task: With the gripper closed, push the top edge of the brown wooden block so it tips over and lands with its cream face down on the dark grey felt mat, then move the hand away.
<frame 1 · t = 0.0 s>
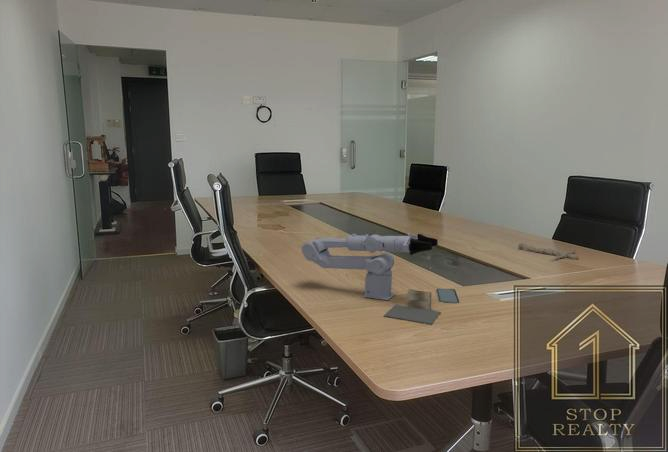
hand: (434, 244, 173), 22 cm above the table, tool horizontal, fingers open, 7 cm apart
smartphone: (447, 298, 186), on the table
brown wooden block: (418, 308, 173), on the table
mat: (412, 314, 166), on the table
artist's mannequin: (547, 255, 254), on the table
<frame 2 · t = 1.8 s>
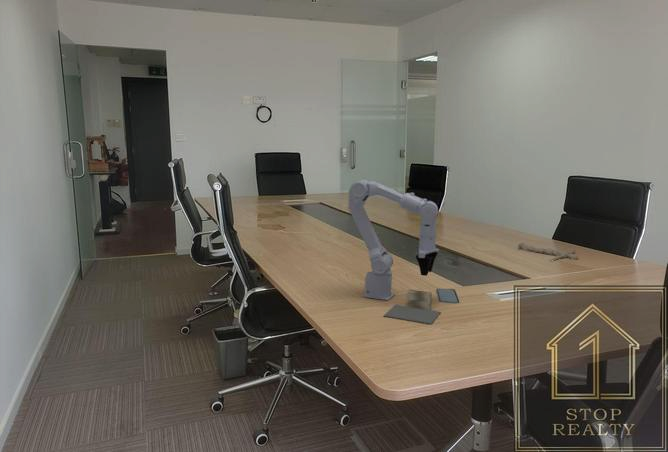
hand: (426, 273, 178), 10 cm above the table, tool pointing down, fingers open, 5 cm apart
nothing on the table moved.
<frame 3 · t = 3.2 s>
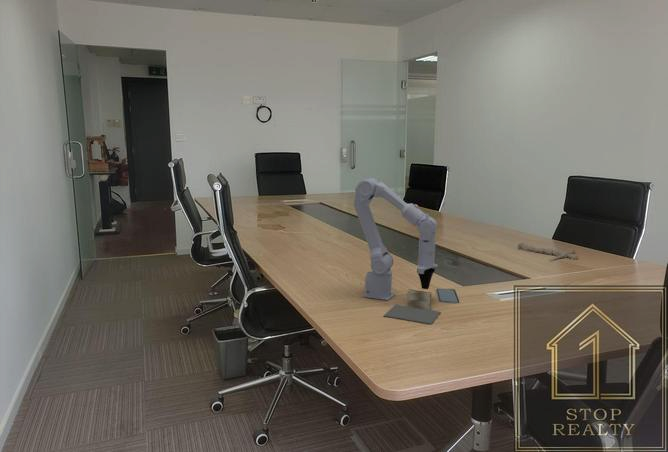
hand: (425, 288, 179), 5 cm above the table, tool pointing down, fingers closed
nothing on the table moved.
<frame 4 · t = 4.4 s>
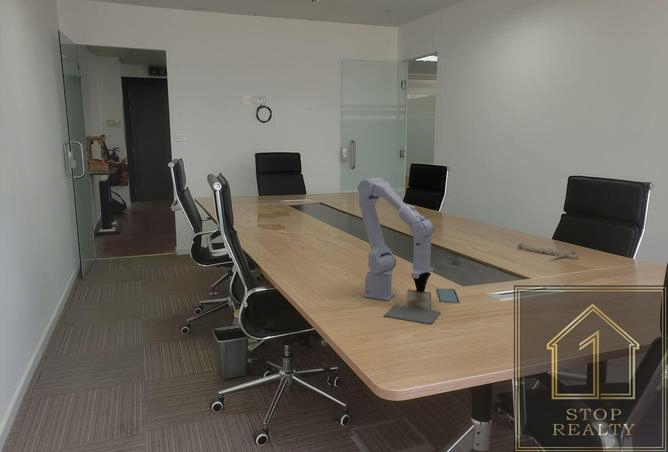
hand: (420, 293, 173), 5 cm above the table, tool pointing down, fingers closed
nothing on the table moved.
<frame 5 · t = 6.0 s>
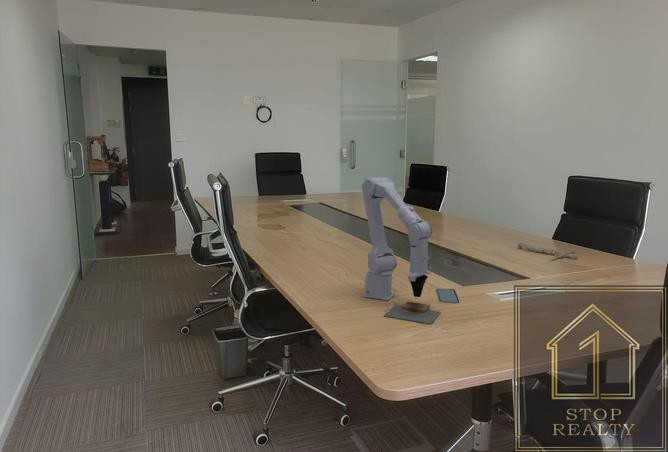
hand: (417, 296, 170), 5 cm above the table, tool pointing down, fingers closed
brown wooden block: (418, 305, 172), point 1 cm above the table, tilted 90°, touching mat
everything else where it was.
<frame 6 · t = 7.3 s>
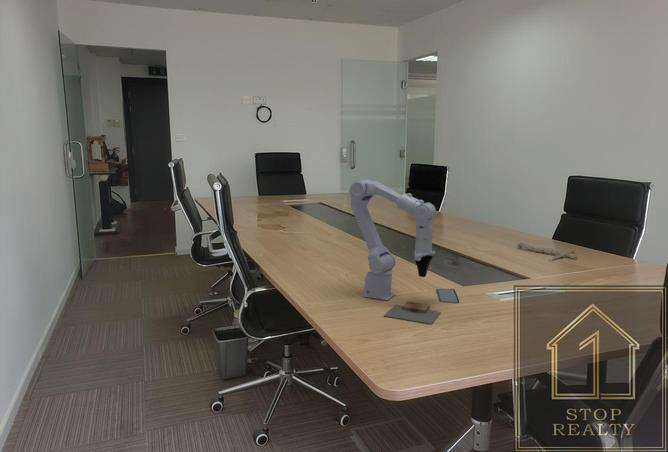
hand: (422, 276, 175), 10 cm above the table, tool pointing down, fingers closed
nothing on the table moved.
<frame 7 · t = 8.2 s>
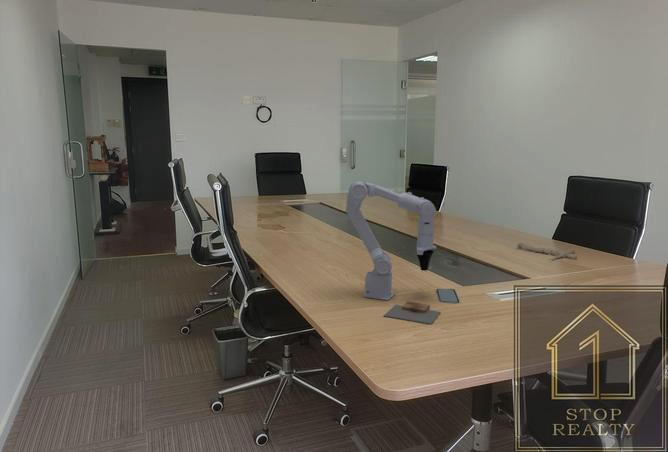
hand: (424, 270, 183), 10 cm above the table, tool pointing down, fingers closed
nothing on the table moved.
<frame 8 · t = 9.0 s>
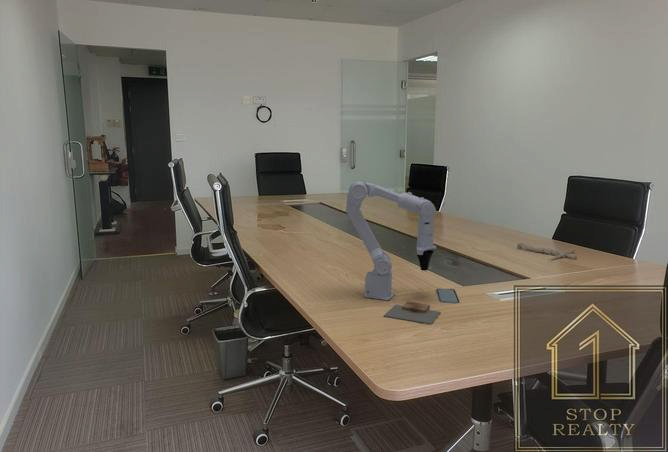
hand: (424, 270, 183), 10 cm above the table, tool pointing down, fingers closed
nothing on the table moved.
at the end: brown wooden block tilted 90°; brown wooden block inside the target area (5.4 cm from its centre), point 1.1 cm above the table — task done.
